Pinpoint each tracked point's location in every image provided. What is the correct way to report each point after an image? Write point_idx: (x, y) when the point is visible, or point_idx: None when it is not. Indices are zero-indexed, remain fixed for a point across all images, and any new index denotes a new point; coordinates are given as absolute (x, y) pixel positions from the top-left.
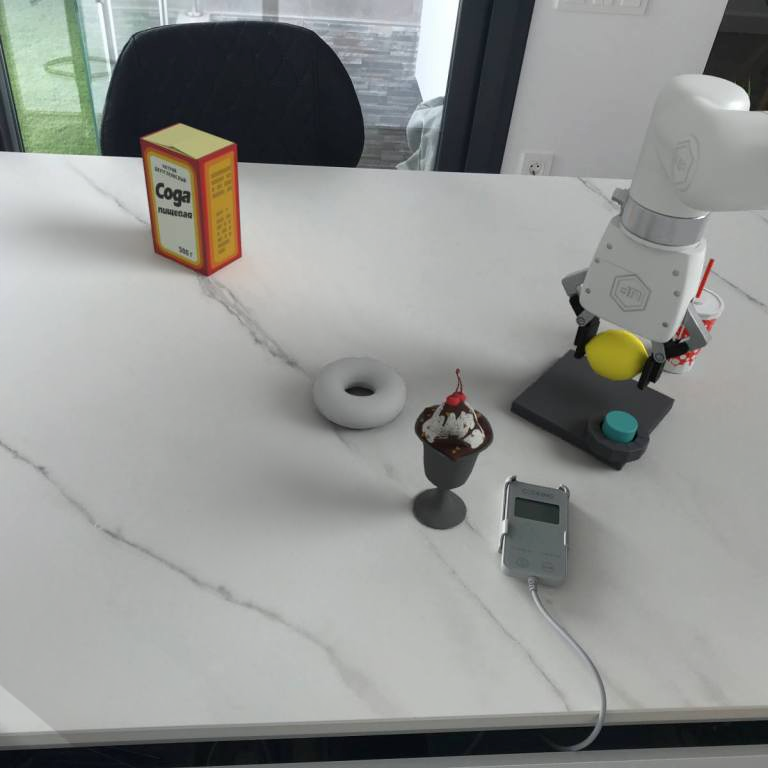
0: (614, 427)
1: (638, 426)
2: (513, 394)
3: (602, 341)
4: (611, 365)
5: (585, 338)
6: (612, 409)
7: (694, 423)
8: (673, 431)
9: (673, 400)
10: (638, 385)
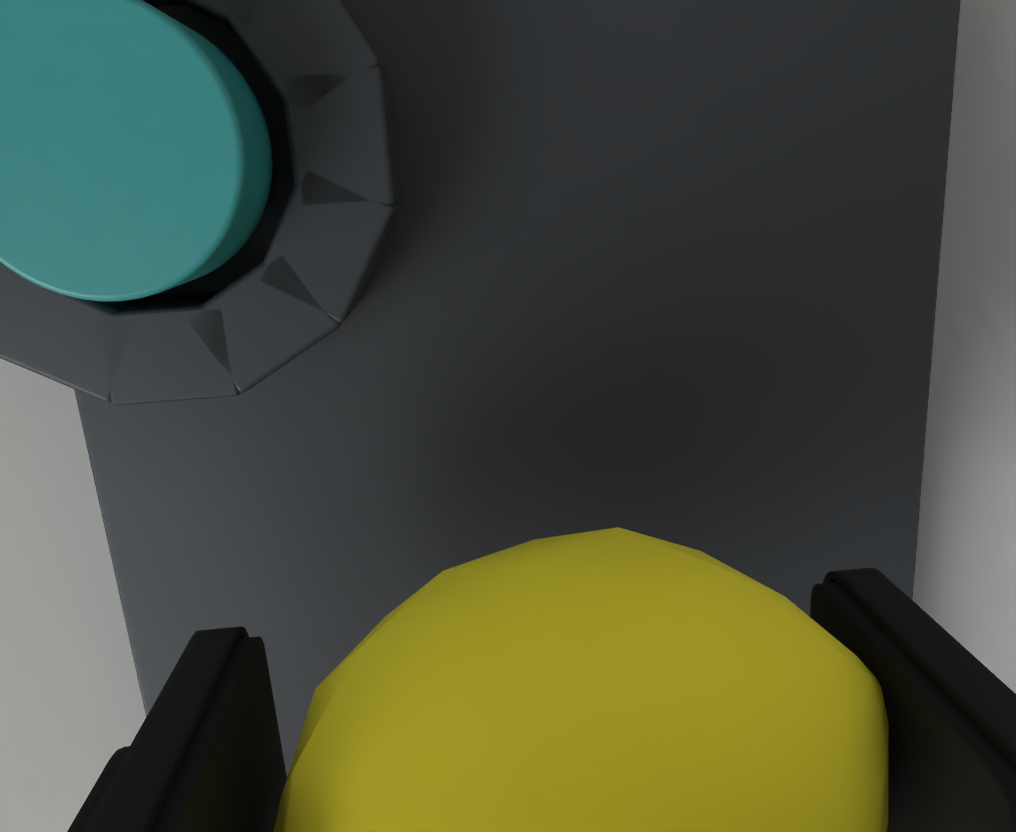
0: (71, 3)
1: (54, 323)
2: (969, 153)
3: (775, 783)
4: (506, 597)
5: (954, 720)
6: (382, 449)
7: (34, 769)
8: (66, 624)
9: None
10: (239, 642)
